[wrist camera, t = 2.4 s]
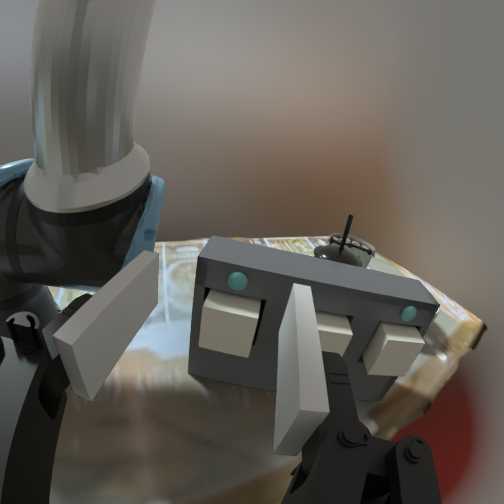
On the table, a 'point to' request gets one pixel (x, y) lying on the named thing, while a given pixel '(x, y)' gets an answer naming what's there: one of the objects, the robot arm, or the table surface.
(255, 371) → the keypad
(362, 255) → the mint chip dessert
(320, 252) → the drinking cup
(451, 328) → the table surface
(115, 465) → the table surface
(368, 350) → the key right
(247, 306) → the key left
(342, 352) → the key middle
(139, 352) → the table surface
